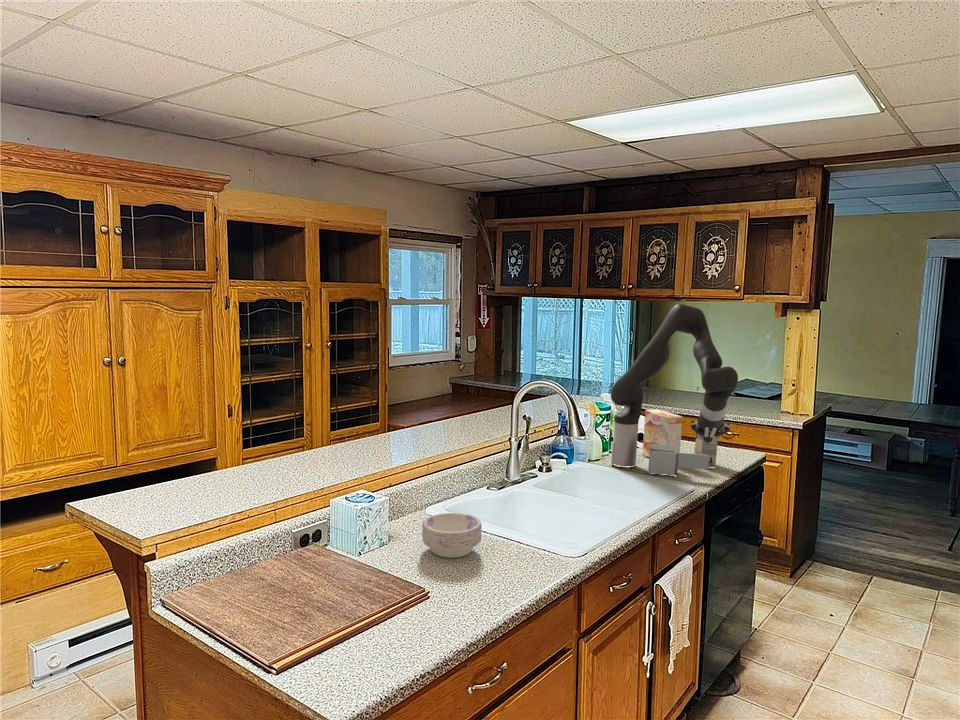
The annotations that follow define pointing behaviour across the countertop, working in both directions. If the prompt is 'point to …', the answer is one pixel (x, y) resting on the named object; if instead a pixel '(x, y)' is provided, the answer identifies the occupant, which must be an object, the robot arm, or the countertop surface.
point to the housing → (661, 449)
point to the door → (675, 462)
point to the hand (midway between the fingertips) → (707, 440)
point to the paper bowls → (451, 534)
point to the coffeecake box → (661, 430)
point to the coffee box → (707, 448)
